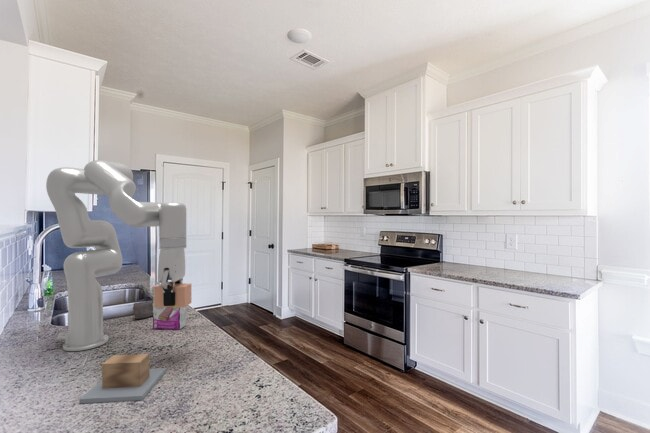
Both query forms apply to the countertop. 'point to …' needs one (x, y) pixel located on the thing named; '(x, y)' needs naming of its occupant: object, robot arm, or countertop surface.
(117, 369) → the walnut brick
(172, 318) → the candy bar box
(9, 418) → the countertop surface
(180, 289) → the terracotta brick
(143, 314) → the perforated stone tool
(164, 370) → the baseplate
